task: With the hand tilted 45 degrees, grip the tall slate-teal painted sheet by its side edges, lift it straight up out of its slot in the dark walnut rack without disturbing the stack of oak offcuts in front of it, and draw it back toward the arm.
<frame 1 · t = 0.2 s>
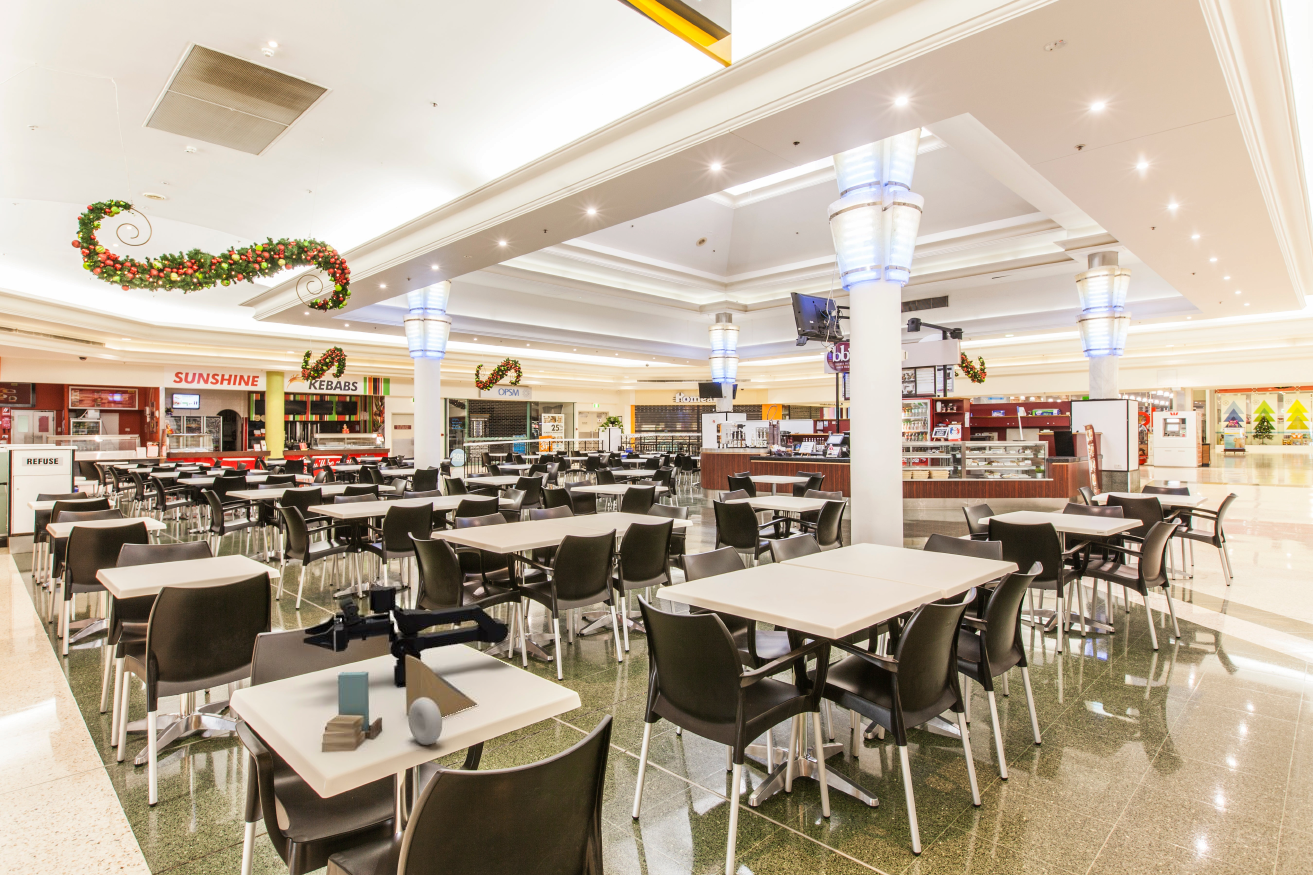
hand: (304, 635, 165), 17 cm above the table, tool horizontal, fingers open, 9 cm apart
sandwich container: (444, 711, 156), on the table
tall sheet: (354, 735, 143), resting in rack
donut: (425, 744, 138), on the table
rack: (354, 735, 143), on the table
offcut stack: (343, 746, 138), on the table
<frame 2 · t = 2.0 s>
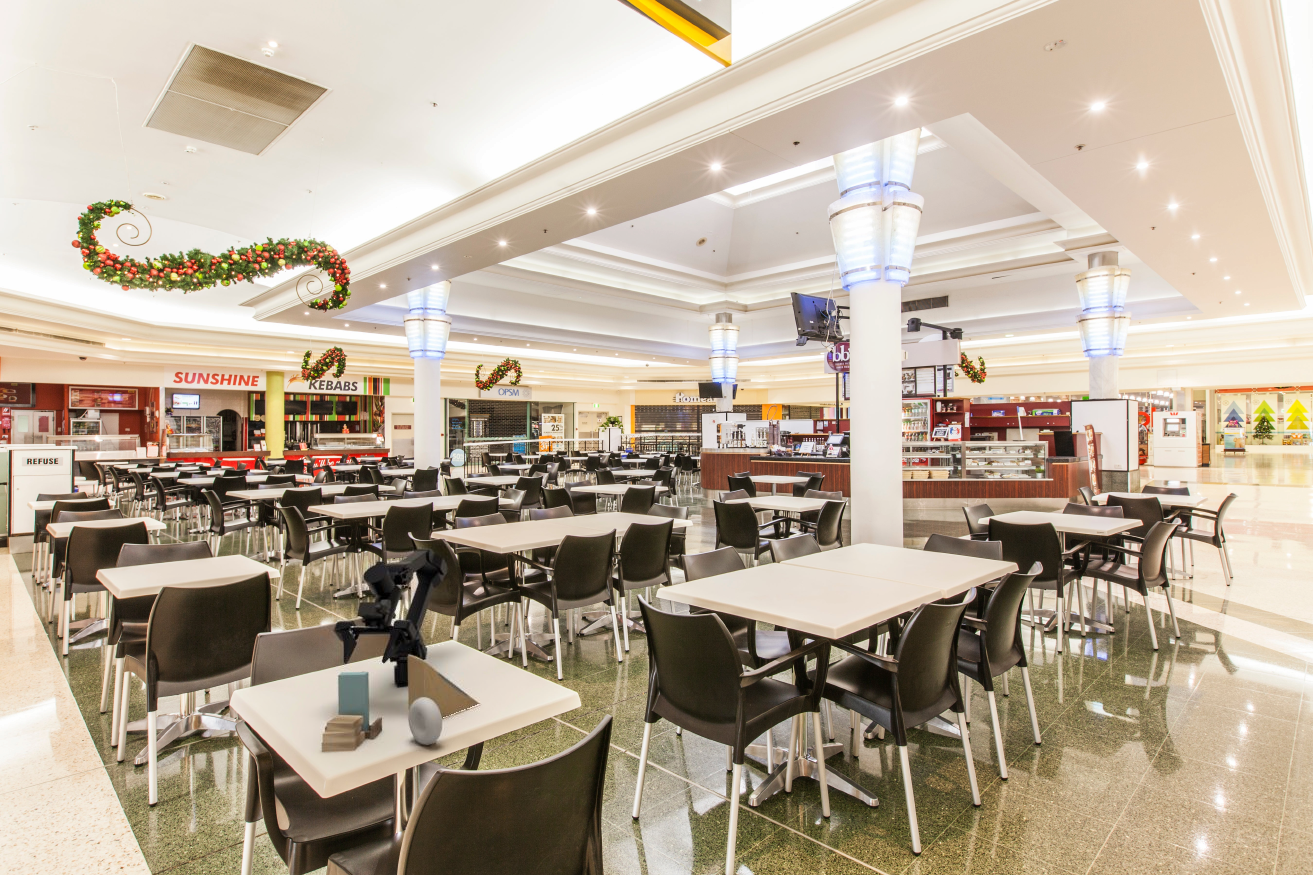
hand: (364, 662, 151), 14 cm above the table, tool tilted 45°, fingers open, 9 cm apart
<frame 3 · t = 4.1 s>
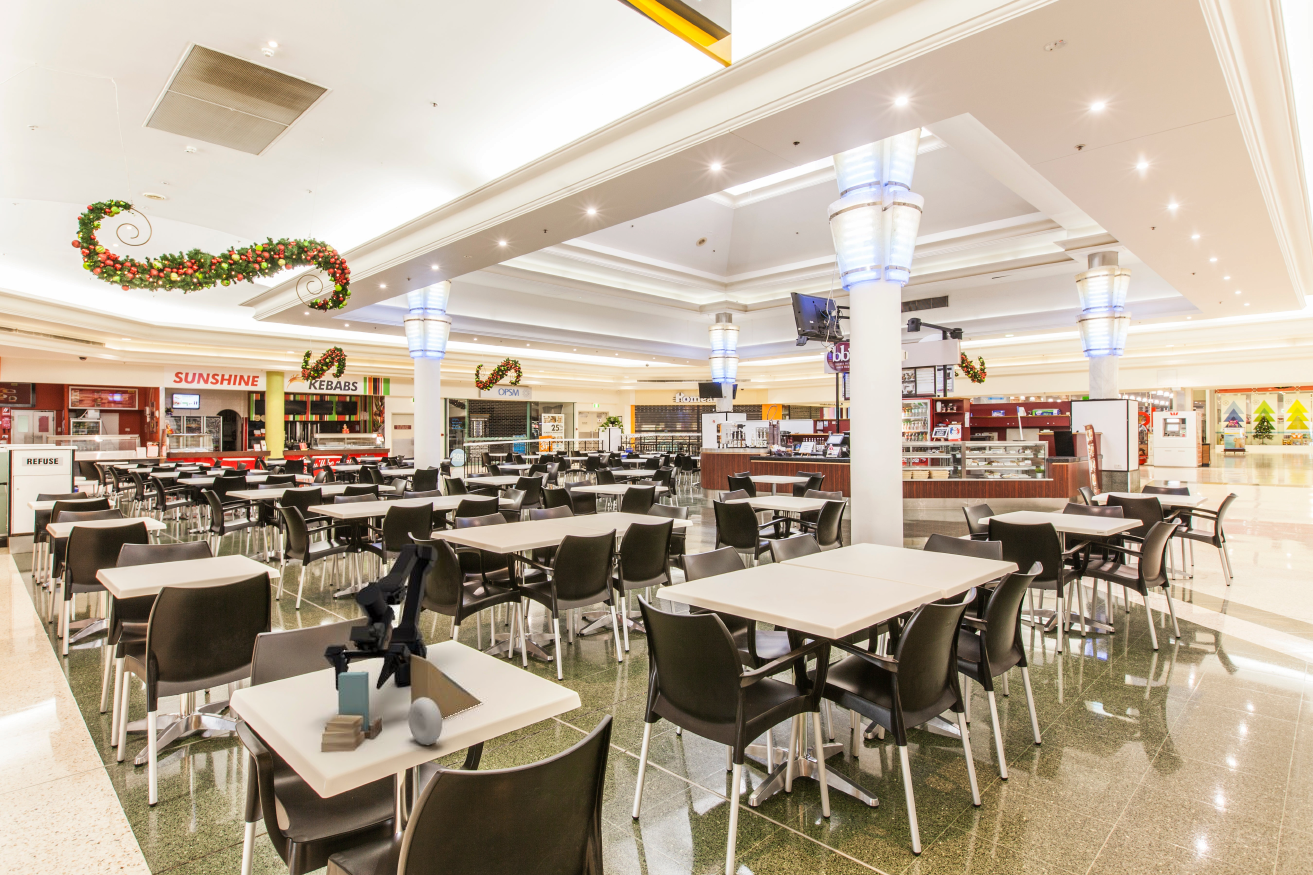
hand: (357, 689, 145), 10 cm above the table, tool tilted 45°, fingers open, 9 cm apart
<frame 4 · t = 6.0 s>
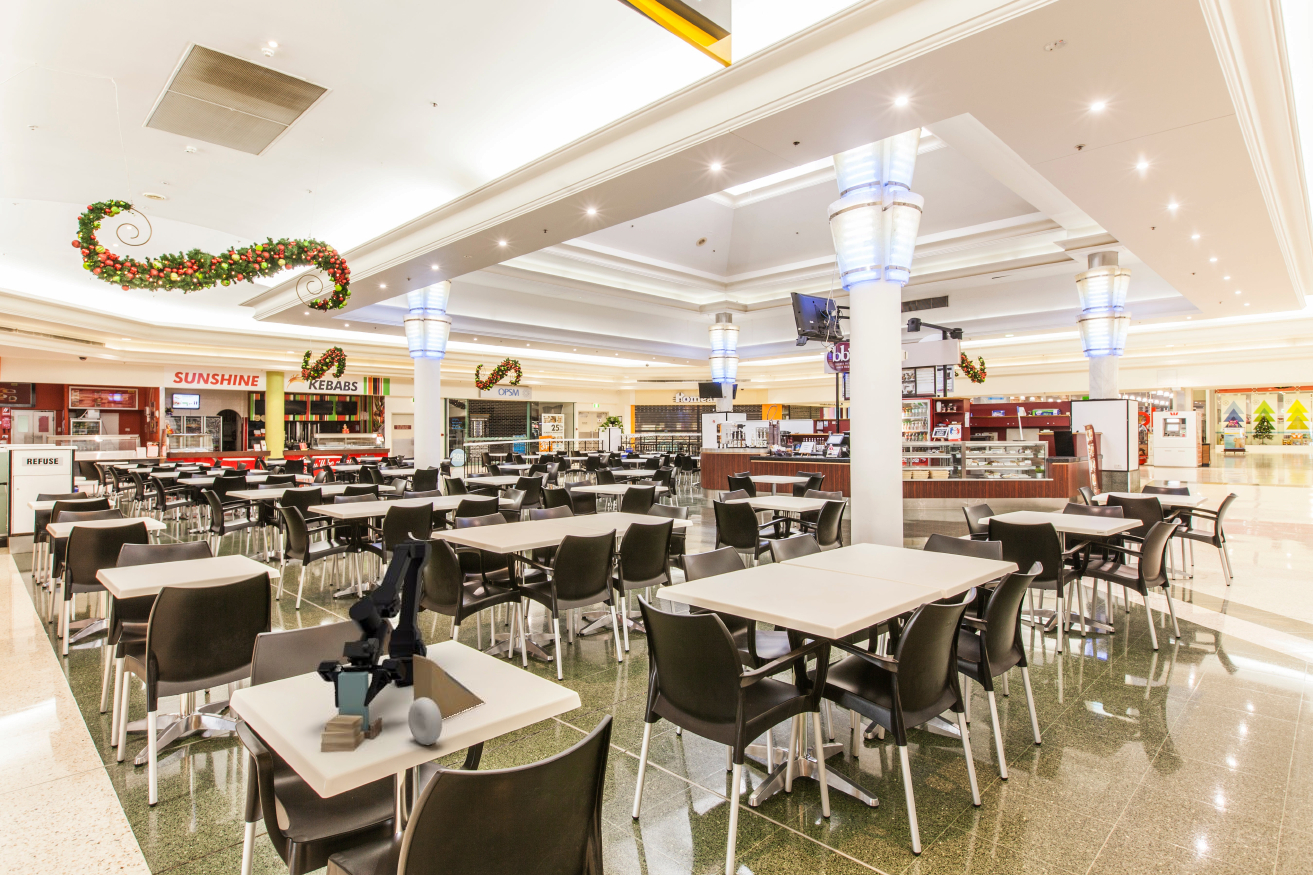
hand: (350, 706, 142), 7 cm above the table, tool tilted 45°, fingers closed on tall sheet, 6 cm apart
tall sheet: (354, 735, 143), resting in rack, touching gripper
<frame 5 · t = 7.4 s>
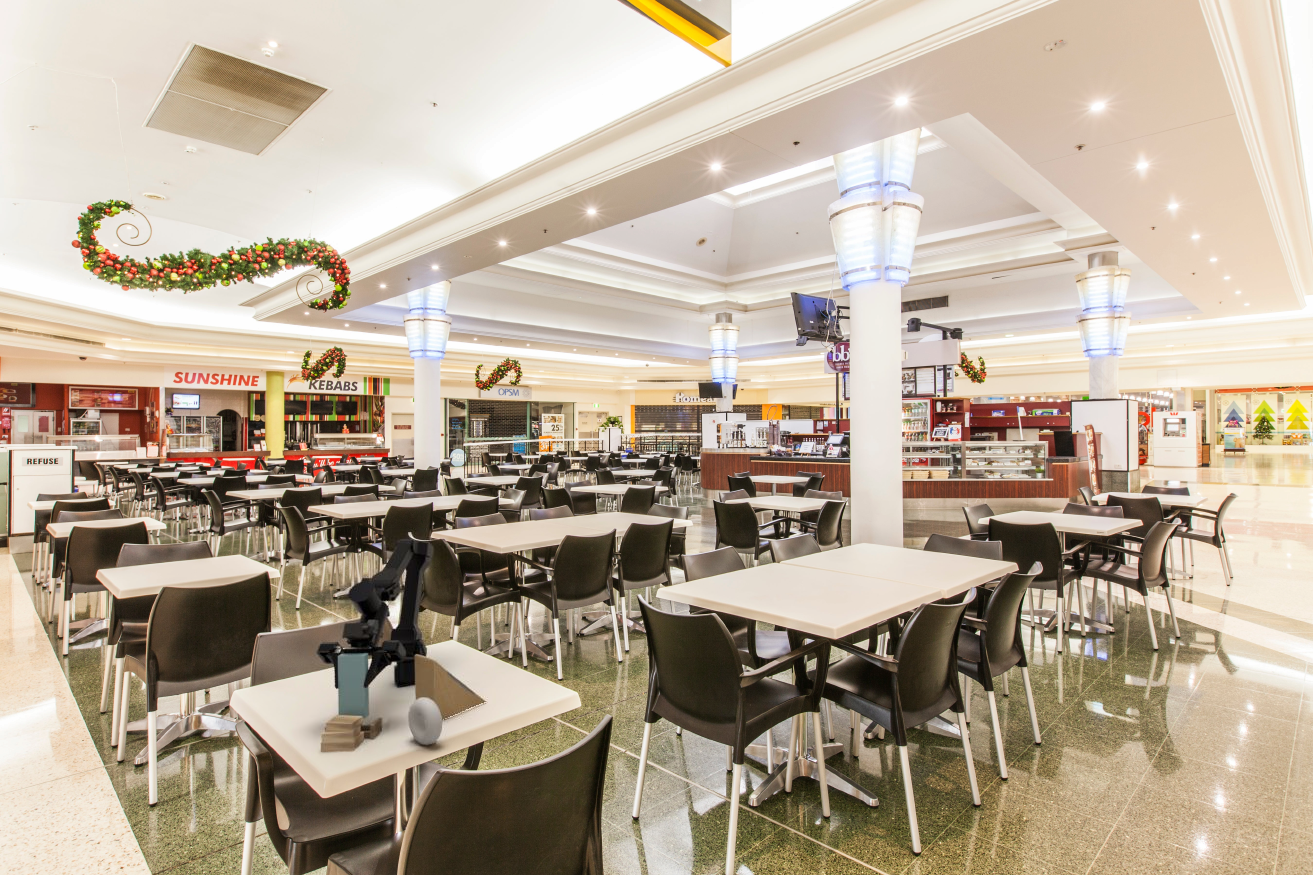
hand: (350, 687, 142), 11 cm above the table, tool tilted 45°, fingers closed on tall sheet, 6 cm apart
tall sheet: (353, 716, 143), point 4 cm above the table, touching gripper
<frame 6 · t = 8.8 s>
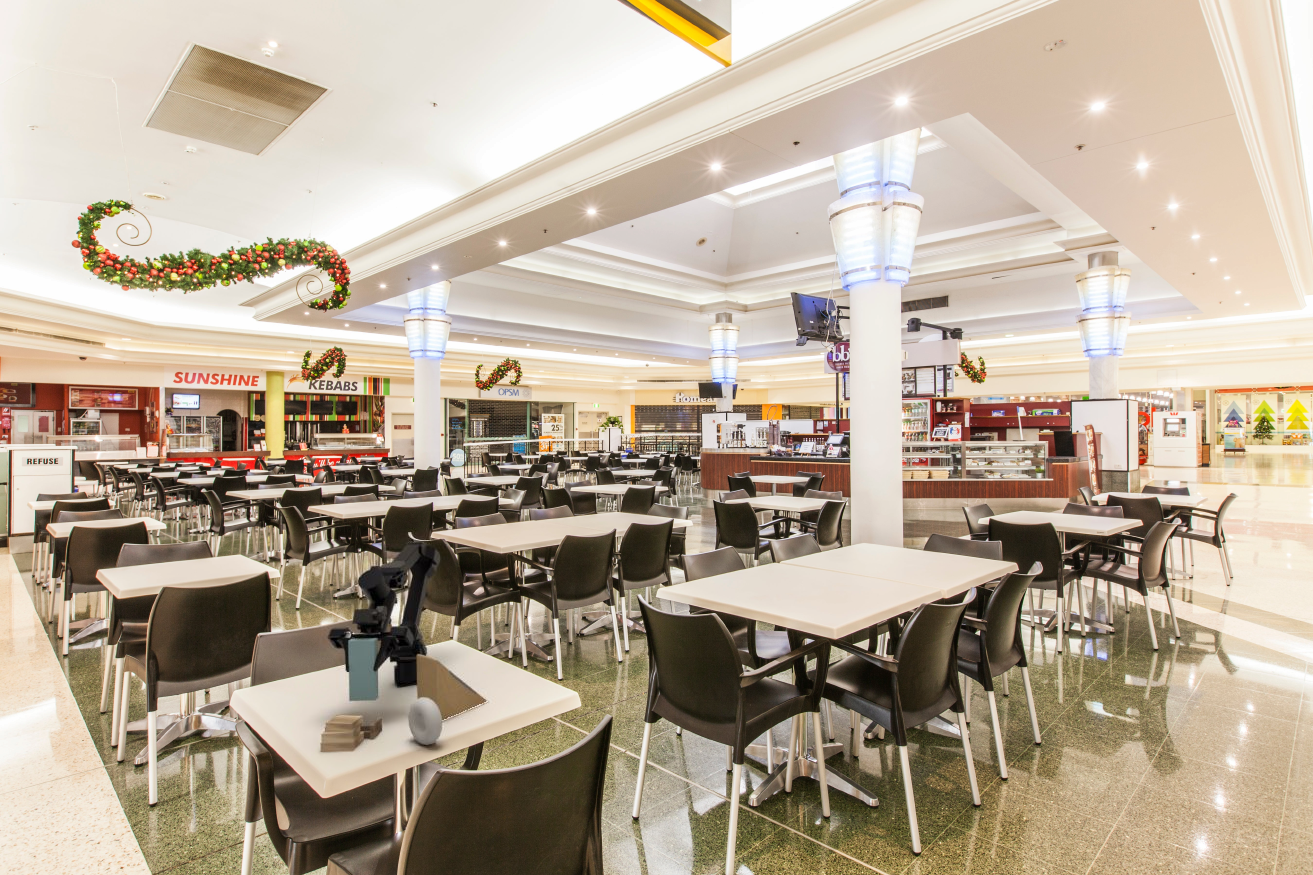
hand: (360, 670, 147), 13 cm above the table, tool tilted 45°, fingers closed on tall sheet, 6 cm apart
tall sheet: (363, 699, 149), point 6 cm above the table, touching gripper
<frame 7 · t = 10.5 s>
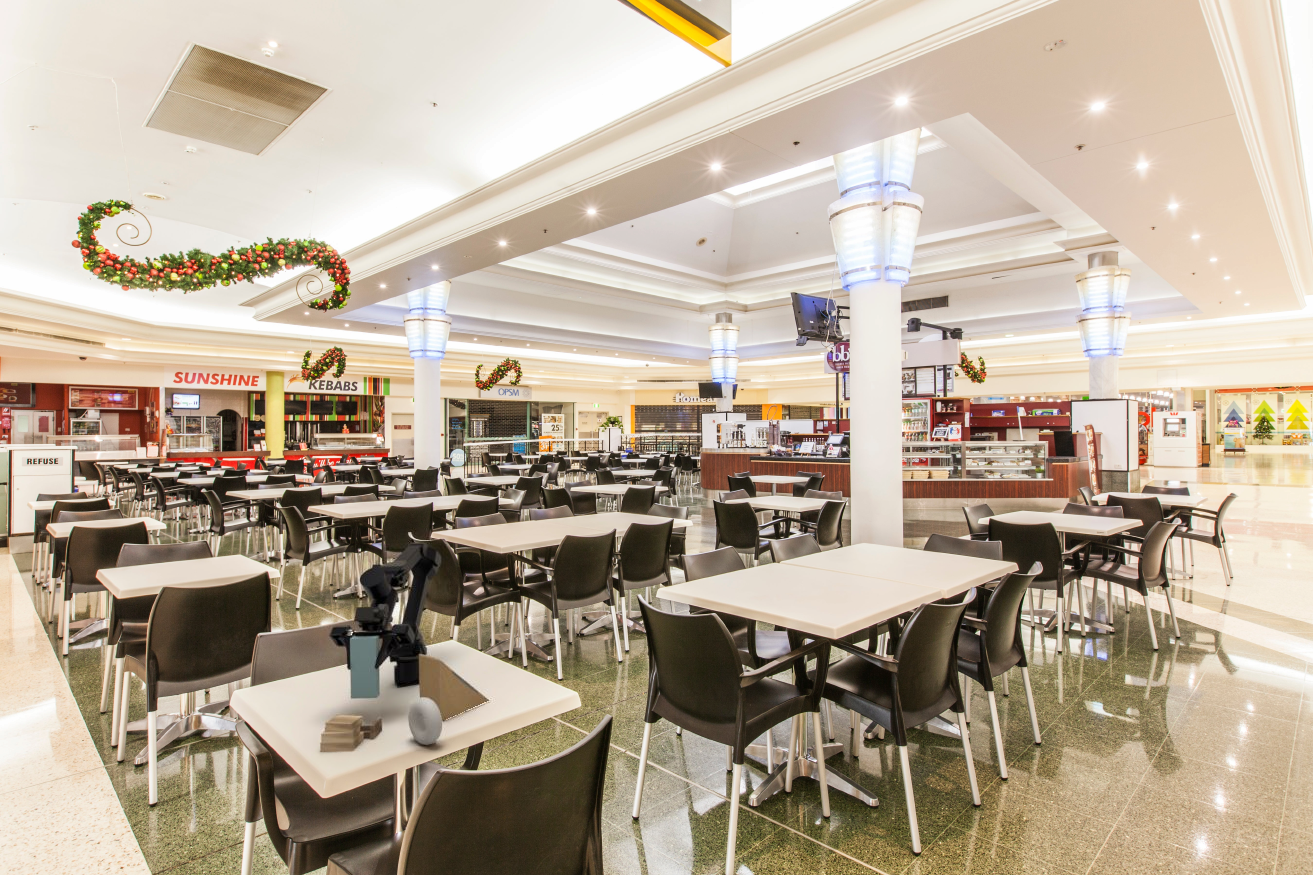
hand: (362, 668, 148), 13 cm above the table, tool tilted 45°, fingers closed on tall sheet, 6 cm apart
tall sheet: (365, 696, 149), point 6 cm above the table, touching gripper
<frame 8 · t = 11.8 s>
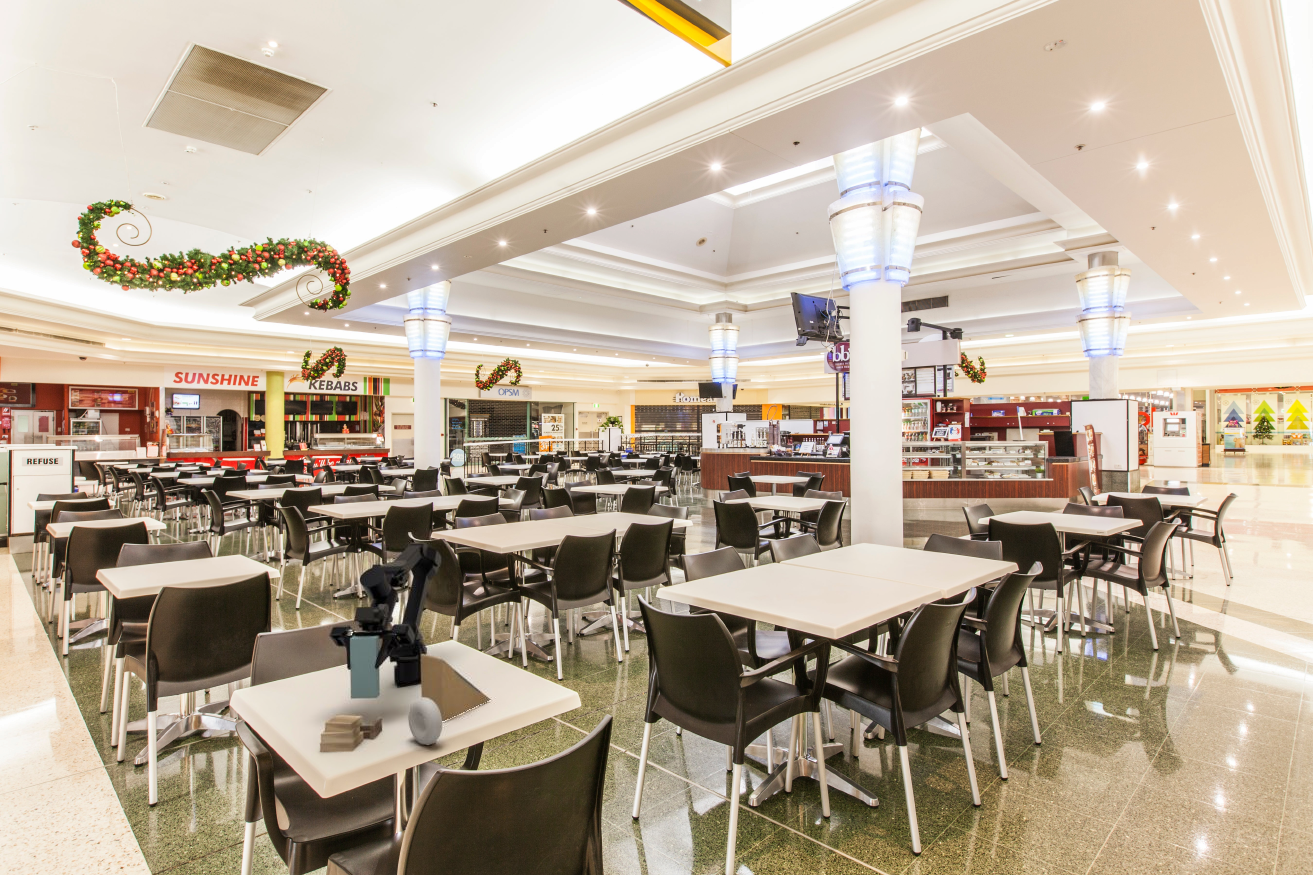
hand: (362, 668, 148), 13 cm above the table, tool tilted 45°, fingers closed on tall sheet, 6 cm apart
tall sheet: (365, 696, 149), point 6 cm above the table, touching gripper
at the end: the gripper is holding tall sheet; tall sheet point 6.4 cm above the table; offcut stack moved 0.4 cm from its start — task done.
